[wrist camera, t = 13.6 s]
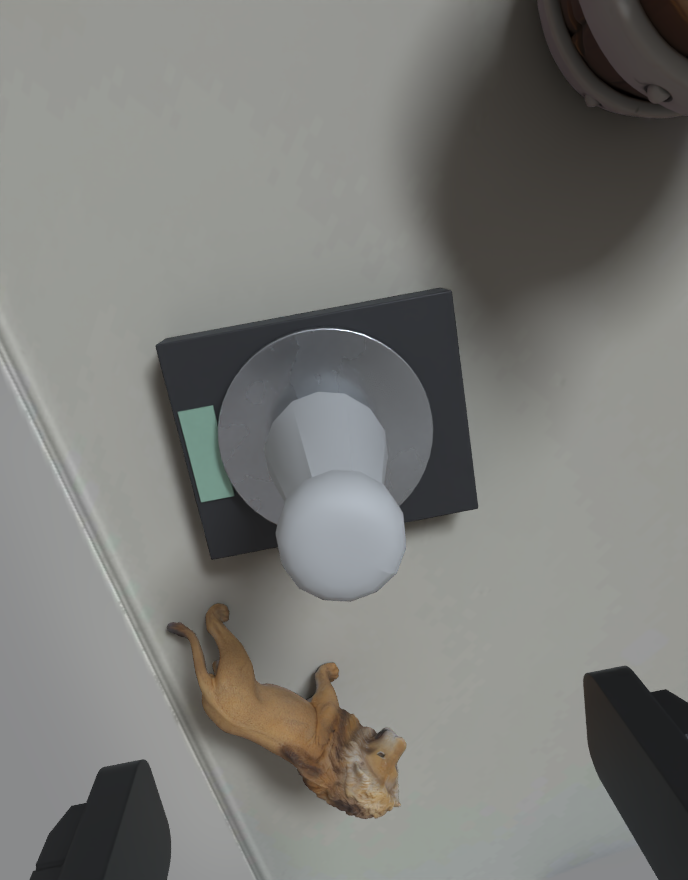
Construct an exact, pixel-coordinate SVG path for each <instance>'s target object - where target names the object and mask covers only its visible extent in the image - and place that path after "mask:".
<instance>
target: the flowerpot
mask: <svg viewBox="0 0 688 880" xmlns="http://www.w3.org/2000/svg"><path fill="white" fill-rule="evenodd" d="M538 9H539V15H540V20H541V25H542V29H543V32H544V36H545V39H546V42H547V44H548V47H549V50H550V52H551V54H552V56H553V58H554V60H555V62H556V64H557V66H558V67H559V69H560V71H561V72H562V74H563V75H564V77H565V78H566V79H567V81H568V82H569V83H570V85H571V86H572V87H573V88H574V89H575V90H576V91H577V92H578V93H579V94H581V95H582V96H583V97H585V103H586V105H587V106H588V107H595V106H598V107H600V108H602V109H604V110H607V111H610V112H613V113H617V114H622V115H627V116H634V117H642V118H671V117H678V116H684V115H685V116H688V0H538Z"/></svg>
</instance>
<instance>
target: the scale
mask: <svg viewBox="0 0 688 880" xmlns="http://www.w3.org/2000/svg"><path fill="white" fill-rule="evenodd" d="M320 326H329V327H341V328H348V329H352V330H356V331H359V332H363V333H365V334H367V335H370V336H372V337H374V338H376V339H378V340H380V341H381V342H383V343H385V344H386V345H388V346H389V347H390V348H392V349H393V350H394V351H395V352H397V353H398V354H399V355H400V356H401V357H402V358H403V359H404V360H405V361H406V362H407V363H408V364H409V365H410V367H411V368H412V369H413V371H414V372H415V374H416V375H417V376H418V378H419V380H420V381H421V383H422V385H423V387H424V389H425V391H426V394H427V397H428V400H429V403H430V407H431V412H432V417H433V444H432V449H431V454H430V458H429V461H428V464H427V467H426V469H425V471H424V473H423V475H422V477H421V480H420V481H419V483H418V484H417V486H416V487H415V489H414V490H413V492H412V493H411V494H410V495H409V497H408V498H407V499H406V500H405V501H404V502H403V503H402V504H401V505H400V506H399V507H400V509H401V511H402V512H403V517H404V523H405V522H411V521H416V520H421V519H426V518H431V517H437V516H442V515H447V514H452V513H457V512H462V511H468V510H473V509H477V508H478V502H477V493H476V485H475V477H474V469H473V461H472V452H471V444H470V436H469V428H468V420H467V411H466V403H465V395H464V387H463V379H462V370H461V362H460V354H459V346H458V338H457V329H456V321H455V313H454V305H453V297H452V291H451V290H447V289H443V288H436V289H431V290H425V291H420V292H414V293H409V294H404V295H398V296H393V297H387V298H382V299H377V300H371V301H366V302H360V303H355V304H350V305H344V306H339V307H333V308H328V309H323V310H317V311H312V312H306V313H301V314H295V315H290V316H285V317H279V318H274V319H268V320H263V321H258V322H252V323H247V324H241V325H236V326H231V327H225V328H220V329H214V330H209V331H204V332H198V333H193V334H187V335H182V336H177V337H171V338H166V339H164V340H163V341H161V342H160V343H158V344H157V345H156V350H157V354H158V358H159V361H160V365H161V369H162V373H163V377H164V381H165V384H166V388H167V392H168V396H169V400H170V403H171V407H172V411H173V415H174V419H175V422H176V426H177V430H178V434H179V438H180V442H181V445H182V449H183V453H184V457H185V461H186V464H187V468H188V472H189V476H190V480H191V484H192V487H193V491H194V495H195V499H196V503H197V506H198V510H199V514H200V518H201V522H202V525H203V529H204V533H205V537H206V541H207V545H208V548H209V552H210V556H211V559H212V560H213V559H219V558H224V557H229V556H234V555H239V554H245V553H250V552H255V551H260V550H265V549H270V548H276V547H278V543H277V538H276V529H277V525H276V524H274V523H272V522H270V521H269V520H267V519H265V518H264V517H262V516H261V515H260V514H258V513H257V512H256V511H254V510H253V509H252V508H251V507H250V506H249V505H248V504H247V503H246V502H245V501H244V500H243V499H242V498H241V496H240V495H239V494H238V493H237V491H236V490H235V488H234V487H233V485H232V484H231V482H230V480H229V478H228V476H227V474H226V472H225V469H224V466H223V463H222V460H221V457H220V451H219V446H218V421H219V414H220V410H221V406H222V402H223V399H224V397H225V394H226V392H227V389H228V387H229V385H230V384H231V382H232V380H233V378H234V377H235V375H236V373H237V372H238V371H239V369H240V368H241V367H242V365H243V364H244V363H245V362H246V361H247V360H248V359H249V358H250V357H251V356H252V355H253V354H254V353H255V352H256V351H258V350H259V349H260V348H262V347H263V346H264V345H266V344H267V343H269V342H271V341H273V340H274V339H276V338H278V337H280V336H283V335H285V334H288V333H290V332H293V331H297V330H301V329H305V328H311V327H320Z"/></svg>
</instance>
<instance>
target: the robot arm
mask: <svg viewBox="0 0 688 880" xmlns="http://www.w3.org/2000/svg"><path fill="white" fill-rule="evenodd" d="M583 686H584V699H585V713H586V726H587V740H588V747H589V751H590V755H591V758H592V761H593V764H594V767H595V769H596V772H597V774H598V776H599V778H600V780H601V782H602V784H603V785H604V787H605V789H606V790H607V792H608V794H609V796H610V797H611V799H612V801H613V802H614V804H615V806H616V808H617V809H618V811H619V813H620V814H621V816H622V818H623V820H624V821H625V823H626V825H627V826H628V828H629V830H630V832H631V833H632V835H633V837H634V838H635V840H636V842H637V844H638V845H639V847H640V849H641V850H642V852H643V854H644V856H645V857H646V859H647V861H648V862H649V864H650V866H651V867H652V869H653V871H654V873H655V874H656V876H657V878H658V879H659V880H688V703H687V702H686V701H684V700H683V699H681V698H679V697H678V696H676V695H674V694H673V693H671V692H669V691H668V690H666V689H665V690H660V691H655V692H650V691H649V690H648V689H647V688H646V687H645V685H644V684H643V683H642V682H641V680H640V679H639V678H638V677H637V675H636V674H635V673H634V672H633V671H632V670H631V669H630V668H629V667H628V666H621V667H615V668H610V669H605V670H600V671H595V672H590V673H586V674H585V675H584V679H583ZM170 859H171V837H170V829H169V824H168V821H167V818H166V815H165V812H164V809H163V805H162V802H161V800H160V796H159V793H158V790H157V787H156V784H155V781H154V777H153V775H152V771H151V768H150V766H149V764H148V763H147V761H146V760H138V761H133V762H128V763H122V764H117V765H113V766H107V767H103V768H101V769H100V770H99V772H98V774H97V776H96V779H95V782H94V784H93V787H92V789H91V792H90V795H89V797H88V800H87V803H84V804H79V805H74V806H71V807H70V809H69V810H68V811H67V812H66V814H65V815H64V816H63V817H62V819H61V820H60V821H59V822H58V823H57V825H56V826H55V827H54V829H53V830H52V831H51V832H50V833H49V835H48V837H47V840H46V842H45V845H44V847H43V849H42V852H41V854H40V856H39V859H38V861H37V863H36V871H33V873H32V875H31V878H30V880H167V876H168V871H169V866H170Z"/></svg>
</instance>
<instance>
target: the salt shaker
mask: <svg viewBox="0 0 688 880" xmlns="http://www.w3.org/2000/svg"><path fill="white" fill-rule="evenodd" d="M264 452H265V456H266V461H267V466H268V471H269V475H270V477H271V479H272V481H273V482H274V484H275V486H276V488H277V490H278V492H279V493H280V495H281V497H282V499H283V501H284V502H285V504H284V507H283V510H282V513H281V516H280V519H279V522H278V525H277V529H276V538H277V543H278V549H279V554H280V559H281V562H282V565H283V568H284V569H285V570H286V572H287V573H288V574H289V576H290V577H291V578H292V580H293V581H294V582H295V583H296V585H297V586H298V587H299V588H300V589H302V590H304V591H306V592H308V593H310V594H312V595H314V596H316V597H318V598H320V599H322V600H332V601H350V602H351V601H354V600H356V599H359V598H362V597H364V596H367V595H370V594H372V593H375V592H377V591H378V590H379V589H380V588H381V587H382V586H384V585H385V584H386V583H387V582H388V581H389V580H390V579H391V578H392V577H393V576H394V575H395V574H396V573H397V571H398V568H399V566H400V563H401V560H402V557H403V555H404V552H405V549H406V537H405V527H404V517H403V512H402V511H401V509H400V507H399V505H398V504H397V503H396V501H395V500H394V498H393V497H392V496H391V494H390V493H389V491H388V490H387V488H386V487H385V486H384V481H385V474H386V467H387V460H388V453H387V444H386V436H385V430H384V429H383V427H382V426H381V424H380V423H379V421H378V420H377V418H376V417H375V415H374V414H373V412H372V411H371V409H370V408H369V407H367V406H365V405H364V404H362V403H360V402H358V401H357V400H355V399H353V398H352V397H350V396H348V395H346V394H344V393H329V392H316V393H313V394H311V395H308V396H305V397H302V398H300V399H297V400H294V401H292V402H291V403H290V404H289V405H288V406H287V407H286V409H285V410H284V411H283V412H282V413H281V414H280V415H279V416H278V417H277V418H276V419H275V421H274V422H273V423H272V426H271V429H270V432H269V435H268V438H267V441H266V444H265V447H264Z"/></svg>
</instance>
